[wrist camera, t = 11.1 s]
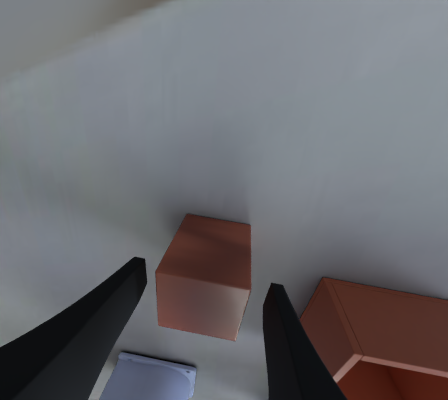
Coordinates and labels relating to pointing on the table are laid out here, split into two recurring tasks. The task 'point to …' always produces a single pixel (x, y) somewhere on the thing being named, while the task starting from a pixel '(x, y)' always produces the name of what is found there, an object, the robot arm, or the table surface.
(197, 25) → the table surface
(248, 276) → the block
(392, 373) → the terracotta bin
